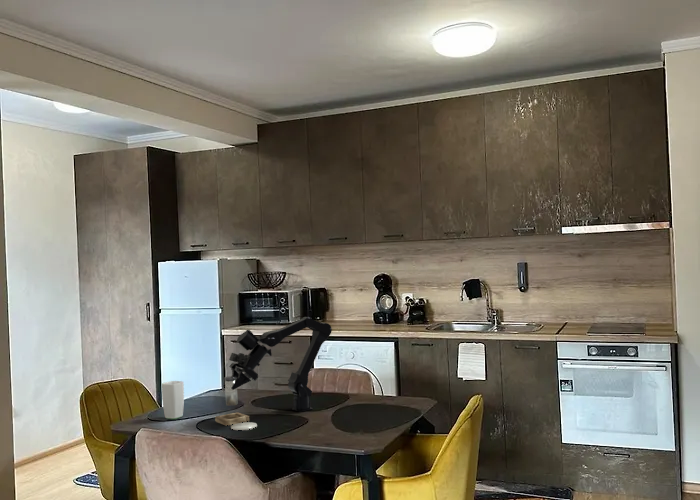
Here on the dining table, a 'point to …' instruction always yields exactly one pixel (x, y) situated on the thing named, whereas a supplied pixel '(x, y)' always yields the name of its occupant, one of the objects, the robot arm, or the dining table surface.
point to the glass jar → (230, 391)
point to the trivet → (244, 426)
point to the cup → (173, 399)
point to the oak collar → (232, 418)
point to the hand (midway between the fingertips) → (230, 388)
